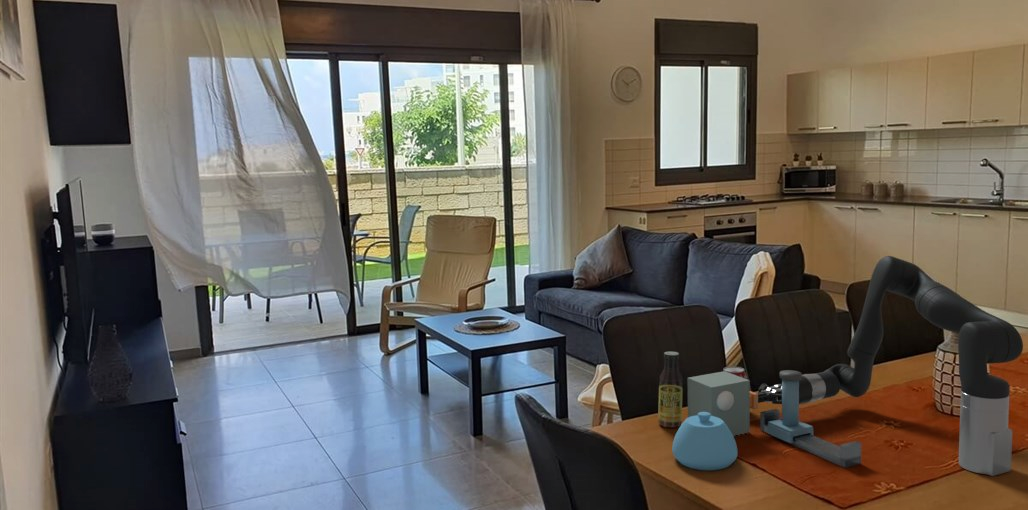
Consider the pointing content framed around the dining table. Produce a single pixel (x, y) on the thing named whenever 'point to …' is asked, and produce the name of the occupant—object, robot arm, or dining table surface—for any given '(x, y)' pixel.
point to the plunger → (753, 400)
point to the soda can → (736, 371)
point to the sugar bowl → (704, 443)
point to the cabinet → (721, 399)
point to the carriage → (789, 410)
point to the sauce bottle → (670, 392)
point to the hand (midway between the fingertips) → (752, 399)
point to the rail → (818, 444)
